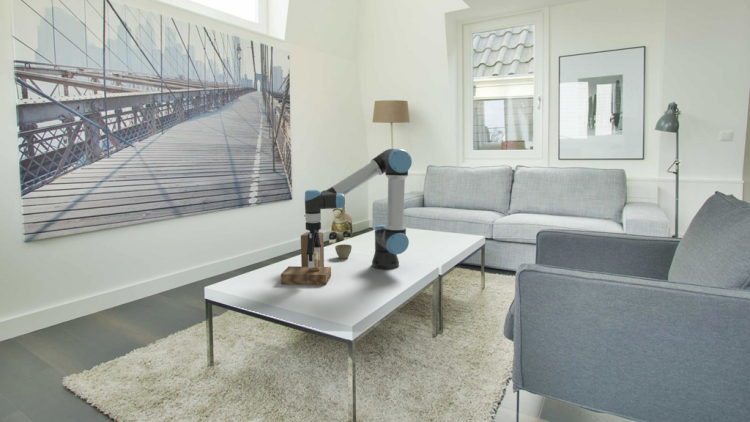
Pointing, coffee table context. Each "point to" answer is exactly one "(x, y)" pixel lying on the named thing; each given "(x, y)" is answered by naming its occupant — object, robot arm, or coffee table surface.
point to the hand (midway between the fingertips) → (314, 263)
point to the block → (304, 250)
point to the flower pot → (343, 250)
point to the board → (306, 276)
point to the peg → (315, 262)
